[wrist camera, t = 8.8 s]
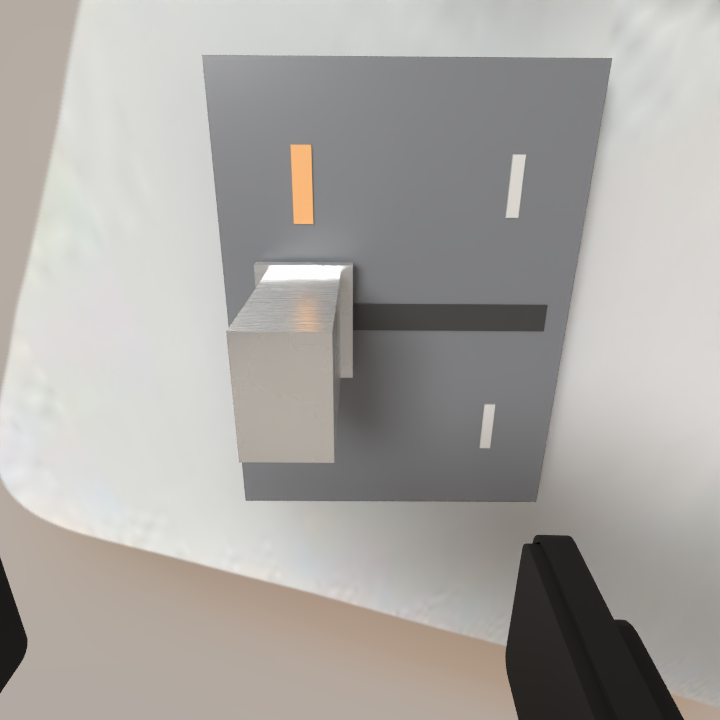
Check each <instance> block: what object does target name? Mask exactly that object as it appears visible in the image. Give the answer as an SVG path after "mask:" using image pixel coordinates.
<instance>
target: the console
mask: <svg viewBox="0 0 720 720" xmlns="http://www.w3.org/2000/svg"><path fill="white" fill-rule="evenodd" d="M202 58H203V68H204V79H205V89H206V99H207V109H208V120H209V130H210V140H211V150H212V161H213V171H214V181H215V191H216V202H217V212H218V222H219V232H220V242H221V253H222V263H223V273H224V283H225V294H226V304H227V314H228V324H229V327H230V325H231V324H232V322H233V321H234V319H235V318H236V316H237V315H238V314H239V312H240V311H241V309H242V308H243V306H244V305H245V303H246V302H247V300H248V299H249V297H250V296H251V295H252V293H253V292H254V290H255V289H256V288H255V274H254V264H255V263H256V262H353V378H341V381H340V394H339V407H338V420H337V433H336V446H335V459H334V463H279V462H242V468H243V478H244V488H245V498H246V501H462V502H536V499H537V493H538V487H539V481H540V476H541V470H542V464H543V458H544V452H545V446H546V441H547V435H548V429H549V423H550V417H551V411H552V406H553V400H554V394H555V388H556V382H557V376H558V371H559V365H560V359H561V353H562V347H563V341H564V336H565V330H566V324H567V318H568V312H569V307H570V301H571V295H572V289H573V283H574V277H575V272H576V266H577V260H578V254H579V248H580V242H581V237H582V231H583V225H584V219H585V213H586V207H587V202H588V196H589V190H590V184H591V178H592V172H593V167H594V161H595V155H596V149H597V143H598V138H599V132H600V126H601V120H602V114H603V108H604V103H605V97H606V91H607V85H608V79H609V73H610V68H611V62H612V58H511V57H384V56H257V55H202Z"/></svg>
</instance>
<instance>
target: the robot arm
mask: <svg viewBox="0 0 720 720" xmlns="http://www.w3.org/2000/svg"><path fill="white" fill-rule="evenodd" d="M26 649H27V636H26V634H25V630H24V627H23V625H22V622H21V618H20V615H19V612H18V609H17V606H16V603H15V600H14V597H13V594H12V591H11V588H10V585H9V582H8V579H7V577H6V574H5V571H4V567H3V564H2V561H1V559H0V693H1V691H2V690H3V688H4V687H5V685H6V684H7V682H8V681H9V679H10V678H11V676H12V675H13V673H14V672H15V670H16V669H17V668H18V666H19V665H20V663H21V661H22V660H23V658H24V655H25V653H26ZM506 669H507V675H508V679H509V683H510V687H511V691H512V695H513V699H514V703H515V707H516V711H517V715H518V719H519V720H684V719H683V717H682V715H681V713H680V711H679V710H678V708H677V706H676V704H675V702H674V700H673V698H672V697H671V695H670V693H669V691H668V689H667V687H666V685H665V683H664V682H663V680H662V678H661V676H660V674H659V672H658V670H657V668H656V667H655V665H654V663H653V661H652V659H651V657H650V655H649V654H648V652H647V650H646V648H645V646H644V644H643V642H642V640H641V639H640V637H639V635H638V633H637V632H636V630H635V629H634V627H633V626H632V625H631V624H630V623H628V622H627V621H625V620H614V619H613V617H612V615H611V613H610V611H609V609H608V607H607V605H606V603H605V601H604V599H603V597H602V595H601V593H600V591H599V589H598V587H597V585H596V583H595V581H594V579H593V577H592V575H591V573H590V571H589V569H588V567H587V565H586V563H585V561H584V559H583V557H582V555H581V553H580V551H579V549H578V547H577V545H576V543H575V542H574V540H573V538H572V537H570V536H559V535H536V536H535V537H534V540H533V543H532V544H524V546H523V549H522V554H521V560H520V567H519V573H518V579H517V585H516V591H515V597H514V604H513V610H512V616H511V622H510V628H509V634H508V641H507V647H506Z"/></svg>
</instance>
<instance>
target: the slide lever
mask: <svg viewBox="0 0 720 720" xmlns="http://www.w3.org/2000/svg"><path fill="white" fill-rule="evenodd" d="M254 274H255V288H256V289H255V290H254V292H253V293H252V295H251V296H250V297H249V299H248V300H247V302H246V303H245V305H244V306H243V308H242V309H241V311H240V312H239V314H238V315H237V316H236V318H235V319H234V321H233V322H232V324H231V325H230V327H229V328H228V330H227V331H226V334H227V344H228V354H229V364H230V374H231V384H232V394H233V404H234V414H235V424H236V434H237V444H238V454H239V462H279V463H334V459H335V446H336V433H337V420H338V407H339V394H340V381H341V378H353V262H256V263H255V264H254Z"/></svg>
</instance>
